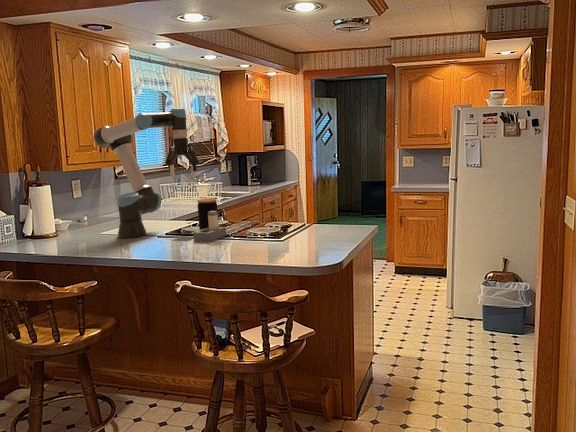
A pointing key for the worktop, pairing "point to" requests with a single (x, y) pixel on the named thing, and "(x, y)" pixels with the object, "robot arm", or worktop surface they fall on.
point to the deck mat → (183, 238)
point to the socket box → (209, 234)
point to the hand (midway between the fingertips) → (183, 177)
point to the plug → (213, 219)
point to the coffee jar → (205, 211)
